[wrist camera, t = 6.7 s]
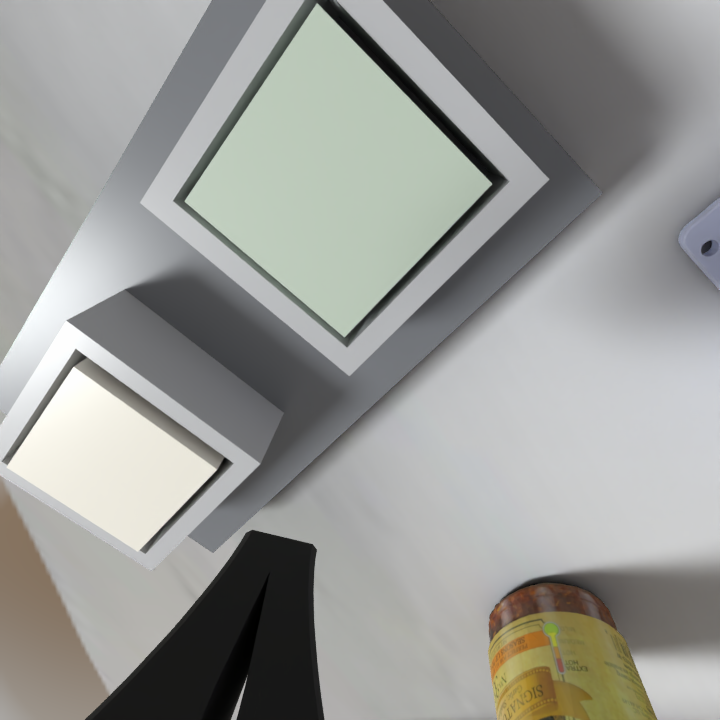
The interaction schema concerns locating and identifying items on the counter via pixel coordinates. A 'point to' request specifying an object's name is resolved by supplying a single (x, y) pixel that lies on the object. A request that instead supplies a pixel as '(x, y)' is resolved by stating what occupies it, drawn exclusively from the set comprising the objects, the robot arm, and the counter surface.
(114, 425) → the cream key
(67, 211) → the counter surface
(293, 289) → the sage key
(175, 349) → the key console
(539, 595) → the sauce bottle
